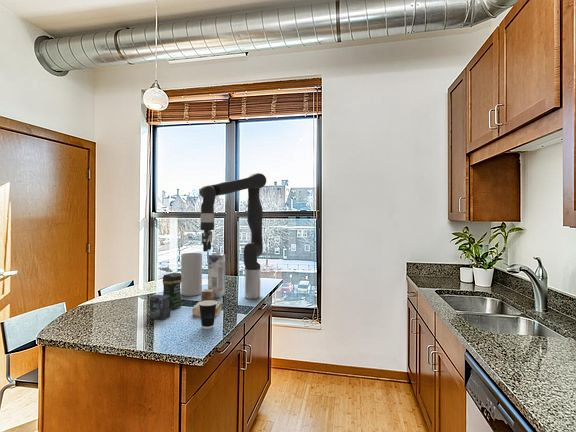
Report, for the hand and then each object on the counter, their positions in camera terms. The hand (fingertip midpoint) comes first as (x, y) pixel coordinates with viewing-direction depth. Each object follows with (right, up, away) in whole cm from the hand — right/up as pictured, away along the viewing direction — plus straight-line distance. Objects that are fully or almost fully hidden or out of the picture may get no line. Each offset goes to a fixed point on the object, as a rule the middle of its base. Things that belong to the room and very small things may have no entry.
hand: (207, 250), depth 183 cm
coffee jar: (-17, -30, -7) cm, 35 cm away
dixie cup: (+9, -31, -36) cm, 48 cm away
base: (+4, -30, -15) cm, 34 cm away
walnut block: (+4, -26, -15) cm, 30 cm away
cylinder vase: (-16, -30, +23) cm, 41 cm away
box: (-17, -31, -24) cm, 42 cm away
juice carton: (+2, -30, +17) cm, 35 cm away
